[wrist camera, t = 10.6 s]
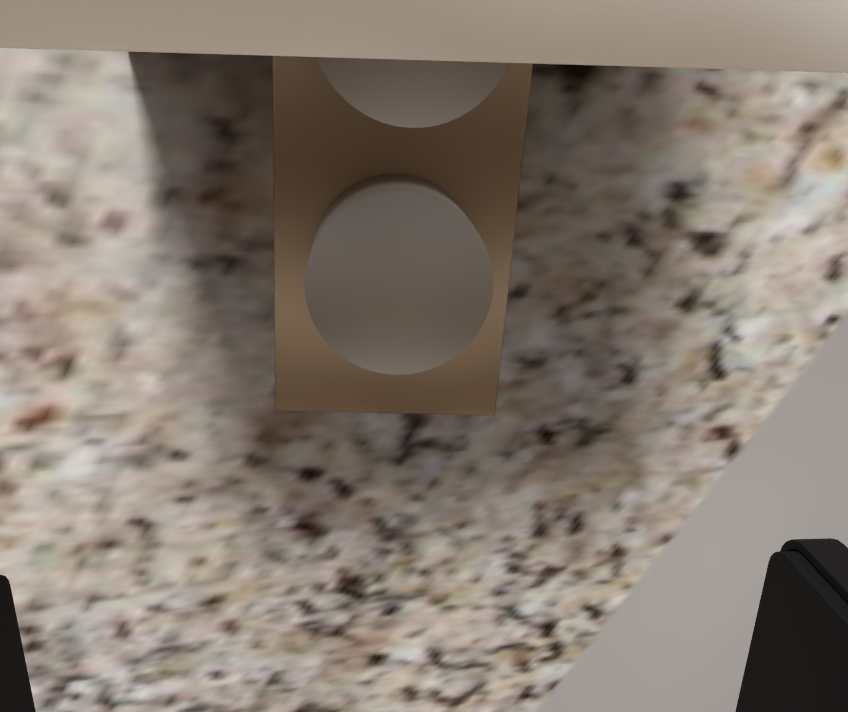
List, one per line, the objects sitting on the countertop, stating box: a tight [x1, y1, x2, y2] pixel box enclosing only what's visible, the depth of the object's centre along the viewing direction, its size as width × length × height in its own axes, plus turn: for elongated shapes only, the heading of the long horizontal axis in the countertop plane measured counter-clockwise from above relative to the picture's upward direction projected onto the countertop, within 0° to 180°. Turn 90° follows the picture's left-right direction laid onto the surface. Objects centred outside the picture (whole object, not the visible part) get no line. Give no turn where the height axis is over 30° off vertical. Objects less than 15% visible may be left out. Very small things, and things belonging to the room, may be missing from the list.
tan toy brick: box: [273, 56, 533, 415], centre depth 18 cm, size 13×6×8 cm, turn 176°
